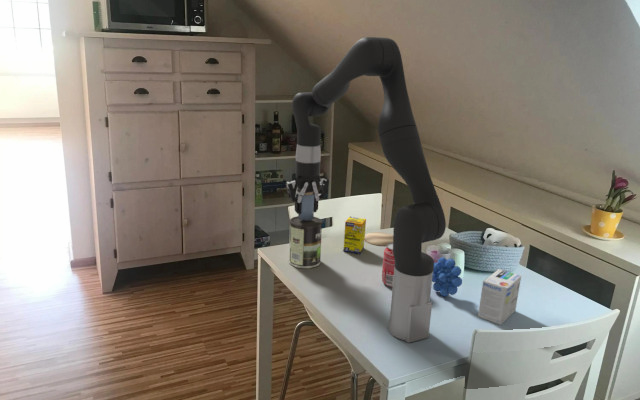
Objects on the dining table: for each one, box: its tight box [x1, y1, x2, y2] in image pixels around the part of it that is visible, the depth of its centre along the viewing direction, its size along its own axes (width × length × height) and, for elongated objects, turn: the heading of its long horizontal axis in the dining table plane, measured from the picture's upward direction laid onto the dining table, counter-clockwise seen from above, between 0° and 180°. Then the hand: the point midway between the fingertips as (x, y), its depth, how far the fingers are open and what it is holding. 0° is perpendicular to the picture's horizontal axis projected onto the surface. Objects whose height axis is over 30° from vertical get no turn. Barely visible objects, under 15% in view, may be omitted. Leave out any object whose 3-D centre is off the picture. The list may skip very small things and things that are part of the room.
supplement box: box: [342, 216, 367, 255], centre depth 181 cm, size 6×6×11 cm
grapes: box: [432, 257, 463, 297], centre depth 151 cm, size 12×7×12 cm, turn 32°
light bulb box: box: [477, 268, 522, 326], centre depth 142 cm, size 11×7×11 cm, turn 141°
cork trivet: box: [364, 231, 393, 247], centre depth 193 cm, size 12×12×1 cm
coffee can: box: [288, 215, 323, 269], centre depth 169 cm, size 10×10×14 cm
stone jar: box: [297, 191, 315, 221], centre depth 166 cm, size 5×5×9 cm
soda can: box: [381, 243, 395, 288], centre depth 157 cm, size 7×7×12 cm
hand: (306, 212), depth 166 cm, fingers closed on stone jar, 4 cm apart
